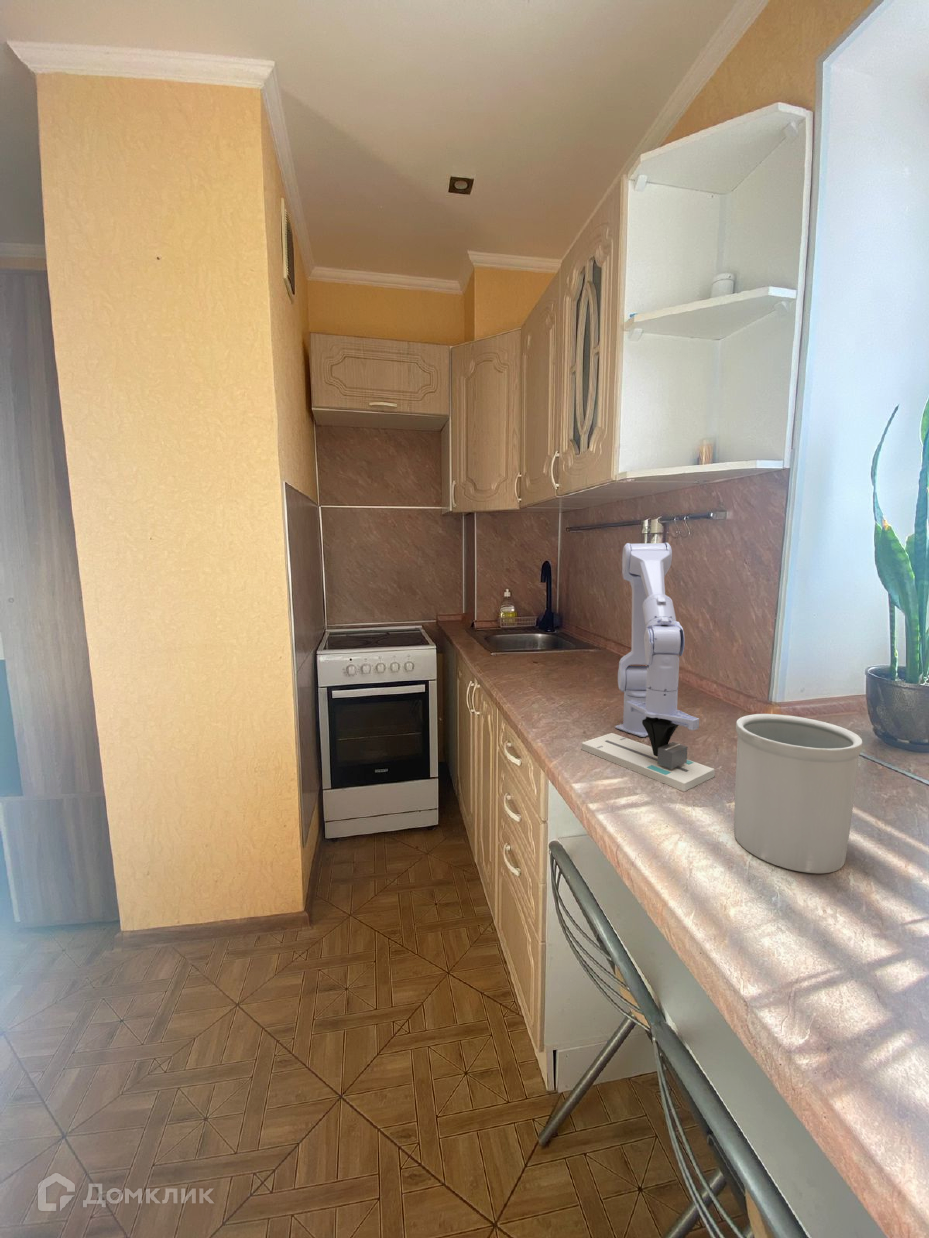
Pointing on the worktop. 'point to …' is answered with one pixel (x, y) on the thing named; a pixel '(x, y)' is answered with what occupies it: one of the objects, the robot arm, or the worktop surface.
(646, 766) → the mixer panel
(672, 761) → the fader
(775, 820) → the utensil holder
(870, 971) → the worktop surface
